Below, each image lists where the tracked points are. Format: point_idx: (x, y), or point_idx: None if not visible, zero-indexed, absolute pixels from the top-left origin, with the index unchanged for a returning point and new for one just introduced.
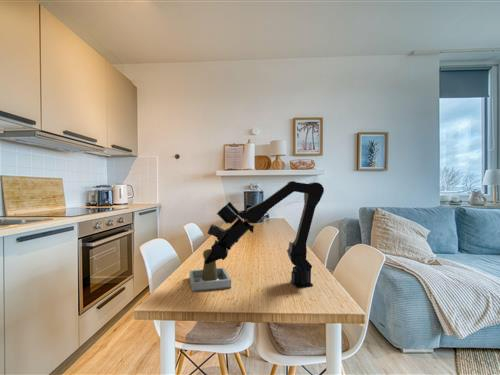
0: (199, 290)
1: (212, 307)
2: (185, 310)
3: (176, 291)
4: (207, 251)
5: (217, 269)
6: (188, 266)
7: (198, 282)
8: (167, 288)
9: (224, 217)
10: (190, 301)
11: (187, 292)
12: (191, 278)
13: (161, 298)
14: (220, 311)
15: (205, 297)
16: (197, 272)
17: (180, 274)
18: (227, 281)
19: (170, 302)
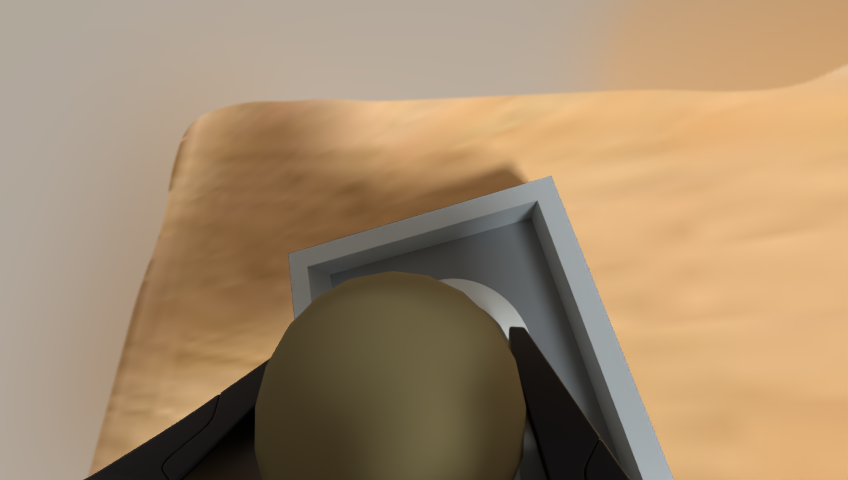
0: None
1: (141, 401)
2: (150, 276)
3: (336, 184)
4: (281, 362)
5: (626, 436)
6: (832, 123)
7: (300, 294)
8: (376, 130)
9: None
10: (219, 281)
11: (317, 243)
12: (373, 231)
13: (272, 145)
14: (97, 445)
15: (245, 353)
16: (548, 244)
17: (606, 124)
18: None
19: (229, 195)
